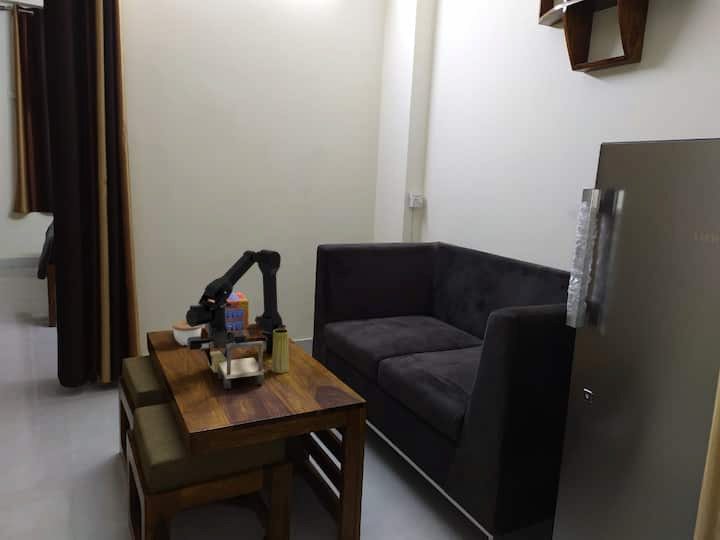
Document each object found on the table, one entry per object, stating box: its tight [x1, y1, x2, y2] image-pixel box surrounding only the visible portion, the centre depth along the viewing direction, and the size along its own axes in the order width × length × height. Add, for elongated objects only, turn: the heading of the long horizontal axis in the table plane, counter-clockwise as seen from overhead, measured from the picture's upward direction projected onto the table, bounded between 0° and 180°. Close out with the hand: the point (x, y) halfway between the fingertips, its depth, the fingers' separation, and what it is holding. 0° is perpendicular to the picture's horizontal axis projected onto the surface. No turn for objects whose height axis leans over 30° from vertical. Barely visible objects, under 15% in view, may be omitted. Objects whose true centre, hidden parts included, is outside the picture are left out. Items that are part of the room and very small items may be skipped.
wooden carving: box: [246, 314, 287, 339], centre depth 221 cm, size 16×5×10 cm, turn 111°
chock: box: [207, 350, 227, 374], centre depth 183 cm, size 4×8×4 cm, turn 29°
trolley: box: [217, 340, 265, 390], centre depth 174 cm, size 12×13×15 cm
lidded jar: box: [172, 320, 203, 347], centre depth 210 cm, size 11×11×9 cm
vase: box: [270, 328, 290, 374], centre depth 185 cm, size 6×6×14 cm
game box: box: [204, 292, 250, 338], centre depth 225 cm, size 16×16×16 cm
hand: (217, 364), depth 183 cm, fingers closed on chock, 4 cm apart
